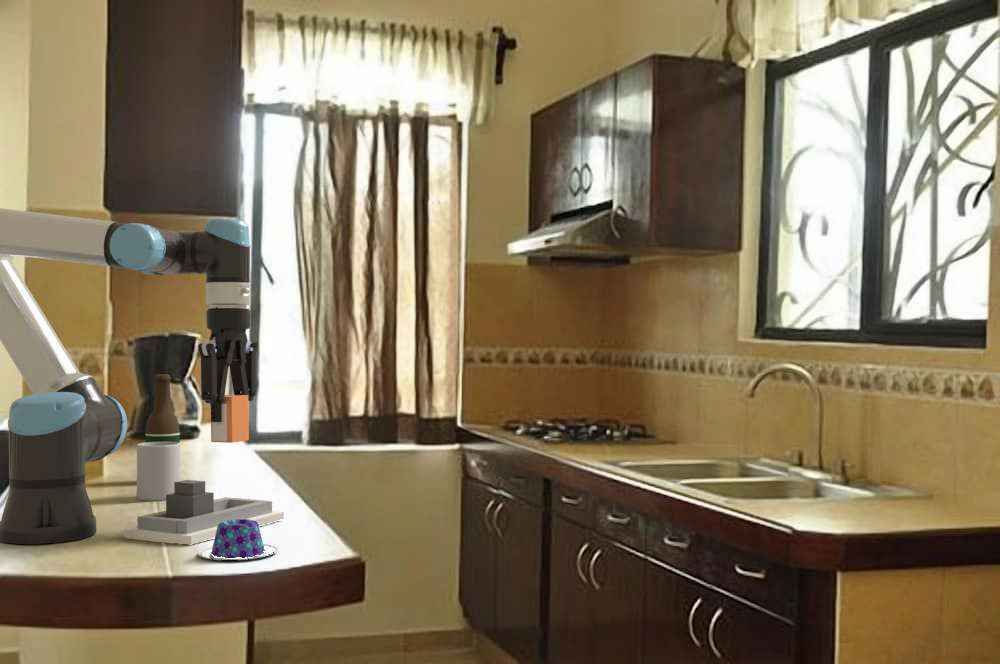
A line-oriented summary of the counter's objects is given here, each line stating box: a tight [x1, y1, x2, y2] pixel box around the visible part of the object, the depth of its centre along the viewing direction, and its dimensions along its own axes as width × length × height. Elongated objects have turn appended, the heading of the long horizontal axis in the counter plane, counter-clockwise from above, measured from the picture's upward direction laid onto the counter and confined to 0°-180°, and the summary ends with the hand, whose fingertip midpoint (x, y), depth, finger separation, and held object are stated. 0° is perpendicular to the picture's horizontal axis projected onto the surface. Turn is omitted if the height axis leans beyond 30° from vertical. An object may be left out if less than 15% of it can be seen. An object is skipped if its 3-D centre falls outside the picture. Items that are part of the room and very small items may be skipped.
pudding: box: [197, 519, 279, 561], centre depth 165 cm, size 12×12×5 cm
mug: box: [136, 442, 181, 502], centre depth 221 cm, size 12×8×11 cm
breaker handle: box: [165, 479, 215, 519], centre depth 181 cm, size 5×6×7 cm
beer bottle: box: [145, 373, 181, 444], centre depth 241 cm, size 8×8×24 cm
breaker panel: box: [124, 496, 285, 545], centre depth 185 cm, size 24×14×4 cm, turn 155°
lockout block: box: [210, 394, 250, 444], centre depth 191 cm, size 5×5×8 cm
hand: (229, 439), depth 191 cm, fingers closed on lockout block, 5 cm apart
